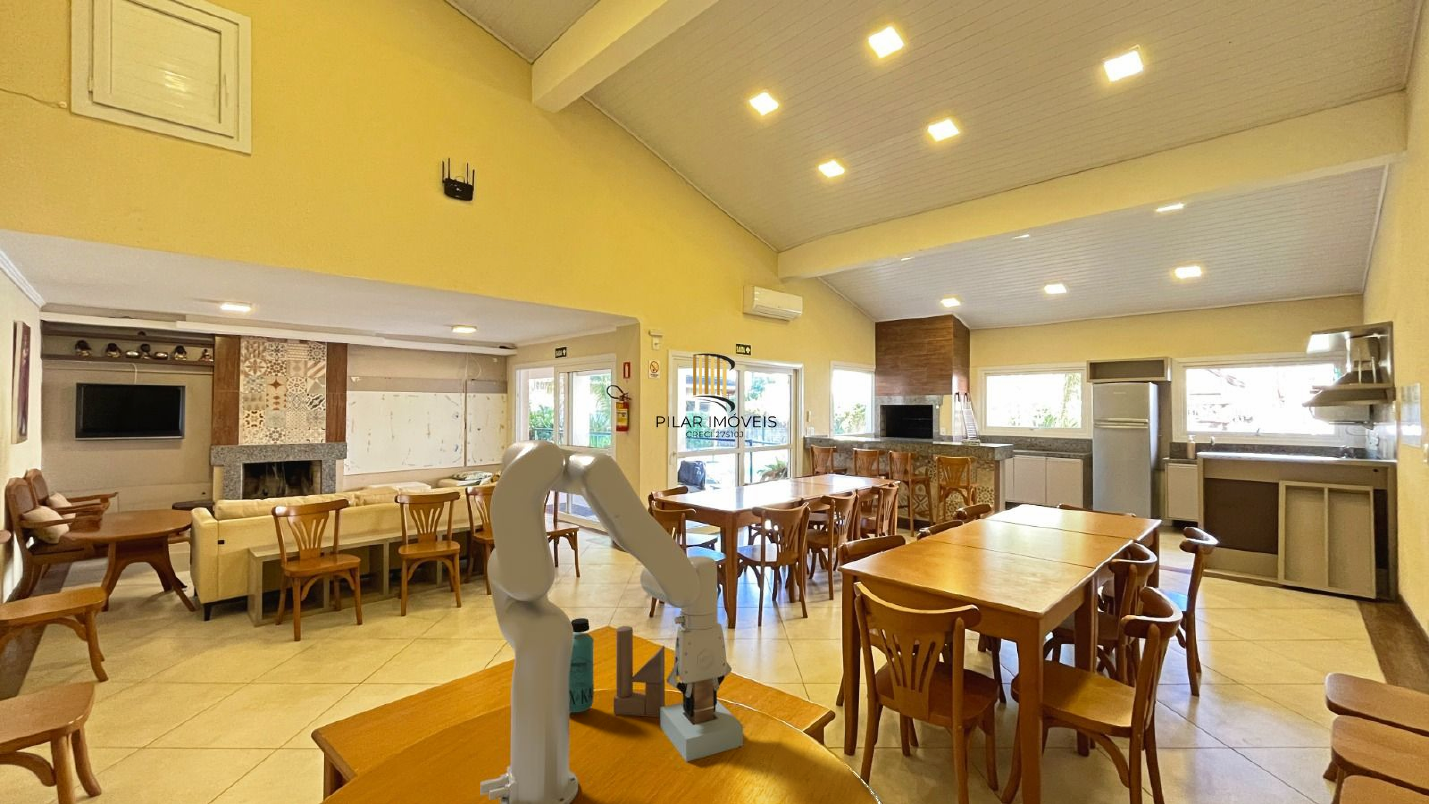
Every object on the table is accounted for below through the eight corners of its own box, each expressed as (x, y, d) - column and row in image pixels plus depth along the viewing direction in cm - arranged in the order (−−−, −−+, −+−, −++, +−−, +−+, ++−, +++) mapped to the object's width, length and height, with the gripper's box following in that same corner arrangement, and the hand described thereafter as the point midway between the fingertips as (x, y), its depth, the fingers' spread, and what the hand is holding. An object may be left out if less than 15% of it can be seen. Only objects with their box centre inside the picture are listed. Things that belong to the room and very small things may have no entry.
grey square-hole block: (686, 761, 104) (686, 739, 104) (660, 727, 116) (660, 707, 116) (742, 745, 109) (742, 724, 109) (712, 714, 121) (712, 695, 122)
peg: (695, 732, 110) (694, 680, 110) (686, 723, 114) (686, 672, 114) (714, 727, 112) (713, 676, 112) (705, 718, 115) (705, 668, 116)
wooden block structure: (661, 718, 120) (660, 632, 121) (613, 715, 122) (613, 630, 123) (665, 710, 123) (664, 627, 125) (618, 707, 125) (618, 625, 126)
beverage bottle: (560, 710, 124) (560, 618, 125) (589, 703, 127) (590, 613, 129) (567, 723, 118) (567, 626, 120) (597, 715, 121) (598, 621, 123)
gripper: (667, 631, 107) (667, 730, 106) (744, 618, 114) (745, 710, 113) (654, 620, 114) (654, 712, 113) (727, 608, 121) (728, 695, 120)
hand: (700, 710), depth 113 cm, fingers closed on peg, 4 cm apart
